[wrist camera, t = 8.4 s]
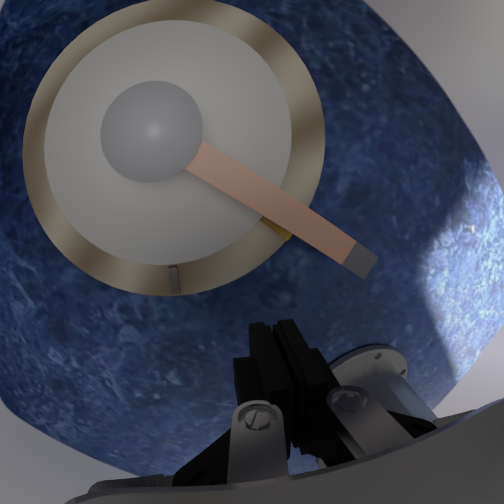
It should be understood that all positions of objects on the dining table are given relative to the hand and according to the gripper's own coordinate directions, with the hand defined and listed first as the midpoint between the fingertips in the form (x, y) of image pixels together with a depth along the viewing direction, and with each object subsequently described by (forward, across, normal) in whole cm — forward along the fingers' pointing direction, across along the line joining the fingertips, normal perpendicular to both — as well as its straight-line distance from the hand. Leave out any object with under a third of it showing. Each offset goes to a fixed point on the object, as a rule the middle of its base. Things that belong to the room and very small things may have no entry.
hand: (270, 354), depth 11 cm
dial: (+10, +2, -7) cm, 13 cm away
